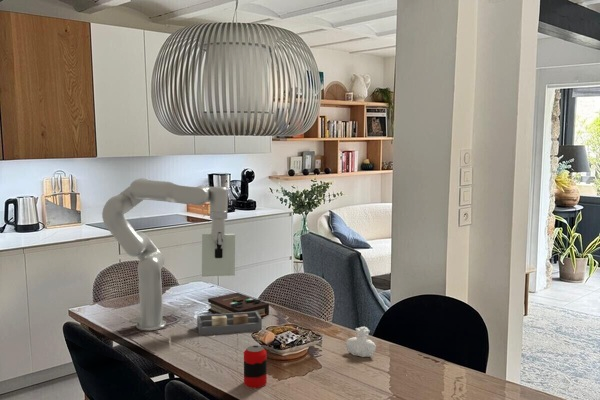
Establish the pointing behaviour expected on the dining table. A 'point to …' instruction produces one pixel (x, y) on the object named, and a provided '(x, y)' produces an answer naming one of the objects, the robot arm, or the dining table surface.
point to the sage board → (218, 265)
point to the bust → (361, 344)
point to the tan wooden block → (240, 319)
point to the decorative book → (237, 304)
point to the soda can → (255, 367)
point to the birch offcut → (219, 320)
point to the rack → (228, 323)
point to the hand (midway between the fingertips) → (218, 256)
